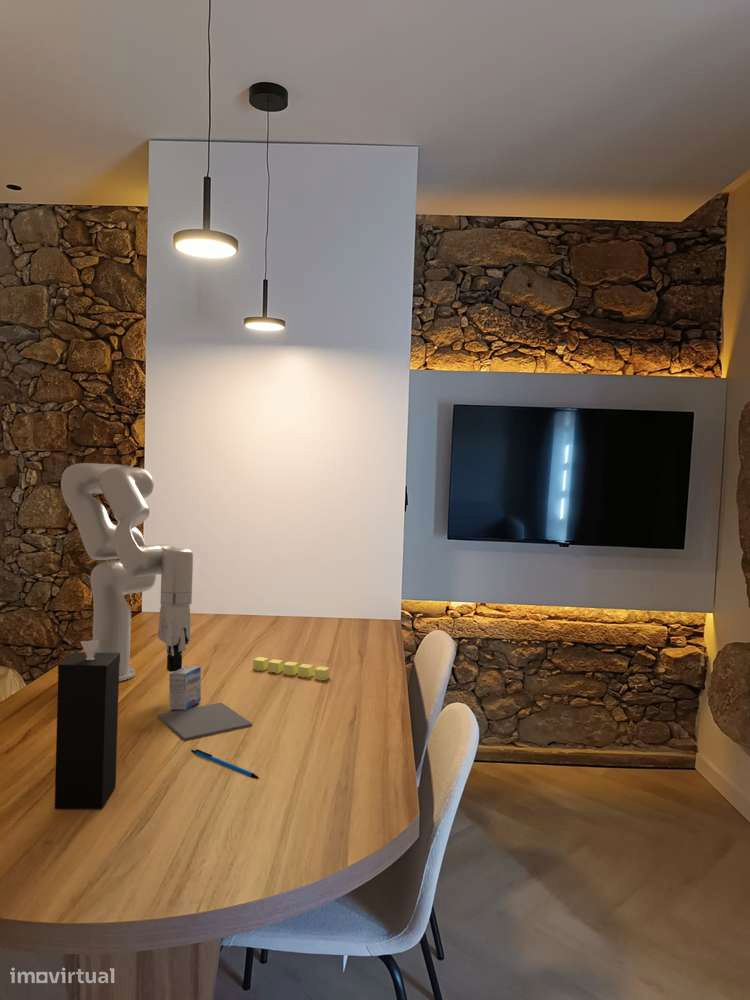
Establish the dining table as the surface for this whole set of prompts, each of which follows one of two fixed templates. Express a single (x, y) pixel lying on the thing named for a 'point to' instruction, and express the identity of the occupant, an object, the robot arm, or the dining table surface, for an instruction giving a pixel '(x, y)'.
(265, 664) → the yellow cube line
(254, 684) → the dining table surface
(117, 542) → the robot arm
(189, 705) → the medicine box
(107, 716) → the tissue box
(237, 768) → the pen
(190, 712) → the mat
